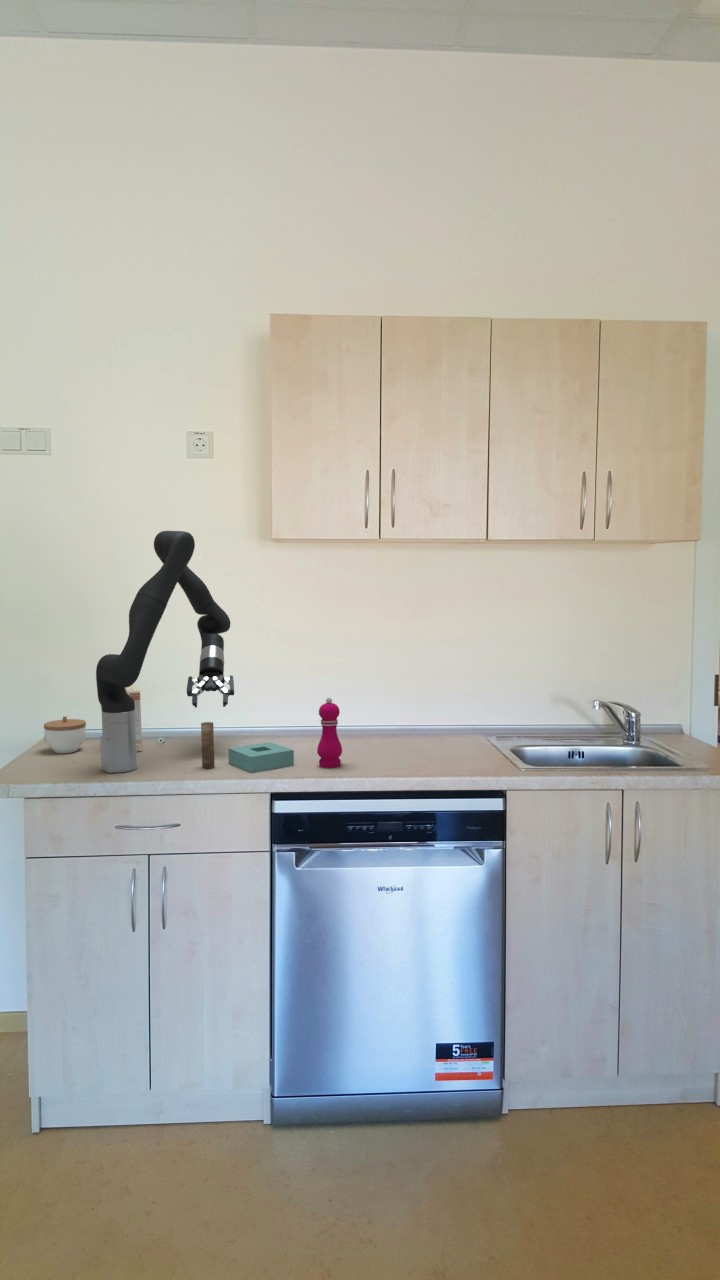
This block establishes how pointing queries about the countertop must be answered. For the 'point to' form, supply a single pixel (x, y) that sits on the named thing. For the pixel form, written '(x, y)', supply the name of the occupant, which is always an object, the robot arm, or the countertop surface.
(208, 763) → the peg
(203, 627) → the robot arm
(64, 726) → the lidded bowl
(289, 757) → the socket block
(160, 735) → the countertop surface
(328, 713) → the pepper mill
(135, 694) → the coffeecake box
